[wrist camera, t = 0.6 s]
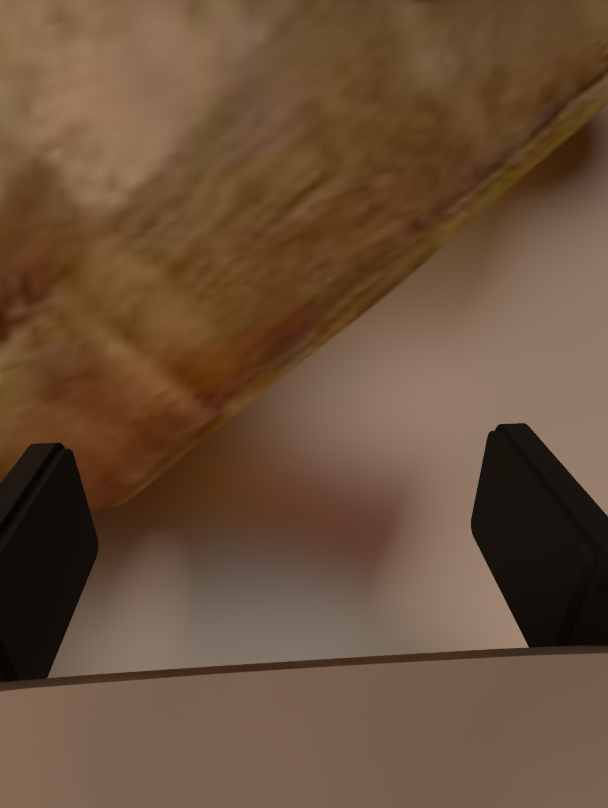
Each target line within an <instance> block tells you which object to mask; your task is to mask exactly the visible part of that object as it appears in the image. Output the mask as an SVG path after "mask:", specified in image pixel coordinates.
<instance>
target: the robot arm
mask: <svg viewBox="0 0 608 808" xmlns="http://www.w3.org/2000/svg"><path fill="white" fill-rule="evenodd" d="M471 530H472V534H473V536H474V538H475V541H476V542H477V545H478V547H479V548H480V551H481V553H482V555H483V557H484V559H485V561H486V562H487V564H488V567H489V569H490V570H491V572H492V574H493V576H494V578H495V580H496V582H497V584H498V586H499V588H500V590H501V592H502V594H503V596H504V598H505V600H506V602H507V604H508V606H509V608H510V610H511V612H512V614H513V616H514V618H515V620H516V622H517V624H518V626H519V628H520V630H521V632H522V634H523V636H524V638H525V640H526V642H527V644H528V646H529V648H510V649H489V650H472V651H455V652H438V653H420V654H404V655H403V654H402V655H385V656H369V657H353V658H336V659H321V660H304V661H288V662H274V663H258V664H242V665H226V666H211V667H197V668H183V669H168V670H153V671H139V672H125V673H110V674H95V675H81V676H70V677H59V678H47V677H48V675H49V672H50V670H51V667H52V664H53V662H54V660H55V657H56V655H57V652H58V650H59V647H60V645H61V643H62V640H63V638H64V635H65V633H66V630H67V628H68V625H69V623H70V620H71V618H72V615H73V613H74V611H75V608H76V606H77V603H78V601H79V598H80V596H81V594H82V591H83V589H84V586H85V584H86V581H87V579H88V576H89V574H90V571H91V569H92V567H93V564H94V562H95V559H96V557H97V552H98V538H97V535H96V531H95V528H94V524H93V521H92V517H91V514H90V510H89V507H88V503H87V500H86V496H85V493H84V489H83V486H82V482H81V479H80V475H79V472H78V468H77V465H76V461H75V458H74V454H73V452H72V451H71V450H70V449H65V448H64V446H63V445H62V444H61V443H40V444H31V445H30V446H29V447H28V448H27V450H26V451H25V452H24V454H23V455H22V456H21V458H20V459H19V460H18V462H17V463H16V464H15V465H14V467H13V468H12V469H11V471H10V472H9V473H8V475H7V476H6V477H5V479H4V480H3V481H2V482H1V484H0V808H608V516H607V515H606V514H605V513H604V512H603V511H602V510H601V508H600V507H599V506H598V505H597V504H596V503H595V501H594V500H593V499H592V498H591V497H590V496H589V495H588V493H587V492H586V491H585V490H584V489H583V488H582V487H581V485H580V484H579V483H578V482H577V481H576V480H575V479H574V477H573V476H572V475H571V474H570V473H569V472H568V471H567V469H566V468H565V467H564V466H563V465H562V464H561V463H560V461H558V459H557V458H556V457H555V456H554V455H553V453H552V452H551V451H550V450H549V449H548V448H547V447H546V445H544V443H543V442H542V441H541V440H540V439H539V437H538V436H537V435H536V434H535V433H534V432H533V431H532V430H531V428H530V427H529V426H528V425H527V424H524V423H518V424H500V425H498V426H497V428H496V429H495V431H491V432H490V433H489V434H488V437H487V442H486V447H485V453H484V457H483V462H482V468H481V473H480V478H479V483H478V488H477V493H476V498H475V503H474V508H473V513H472V518H471Z"/></svg>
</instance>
